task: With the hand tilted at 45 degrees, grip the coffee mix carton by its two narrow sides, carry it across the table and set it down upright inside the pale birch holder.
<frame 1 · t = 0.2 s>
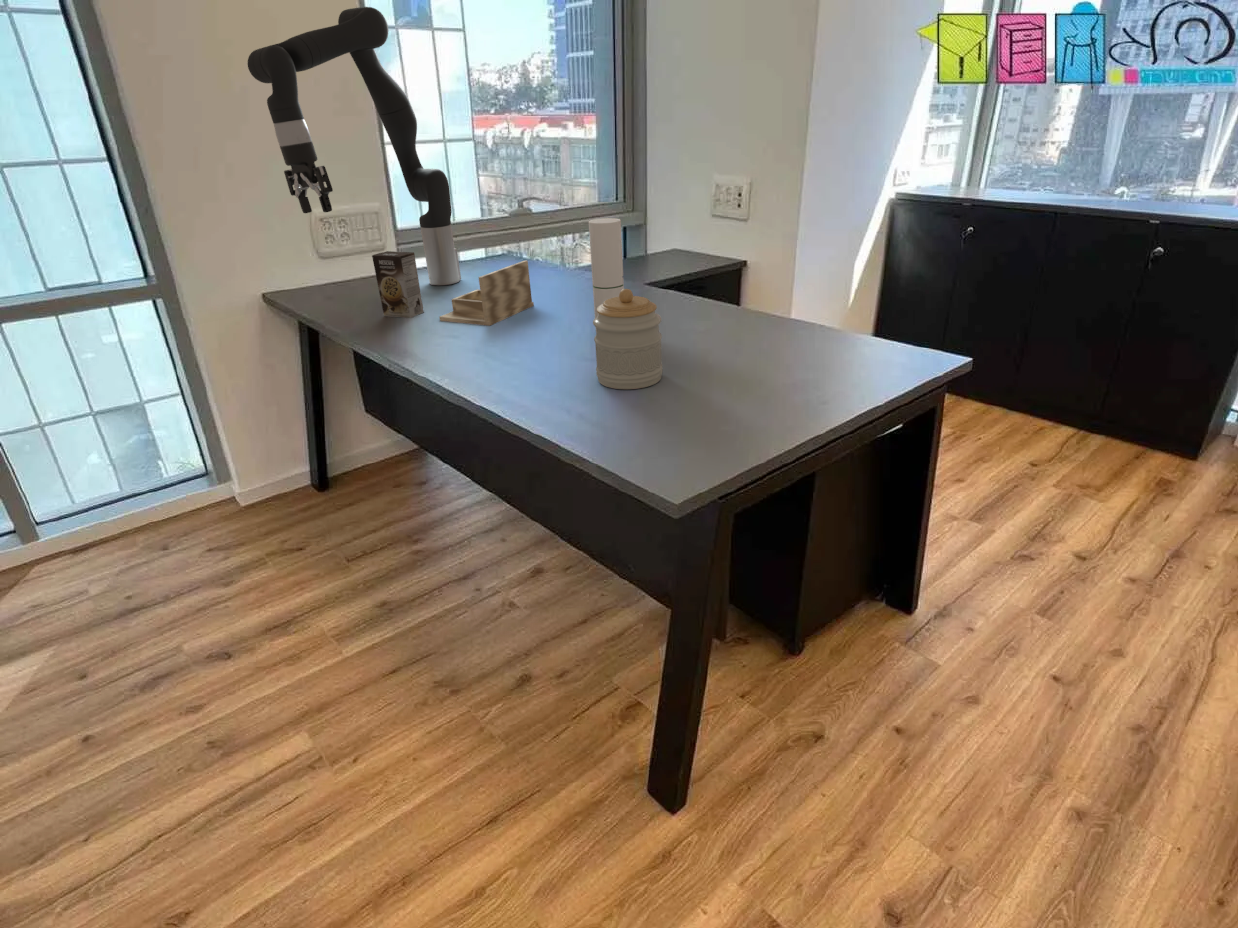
hand: (317, 212, 181), 27 cm above the table, tool pointing down, fingers open, 8 cm apart
holder: (487, 313, 191), on the table
coffee box: (404, 315, 195), on the table
jar: (629, 379, 142), on the table
cylindrical container: (610, 331, 172), on the table
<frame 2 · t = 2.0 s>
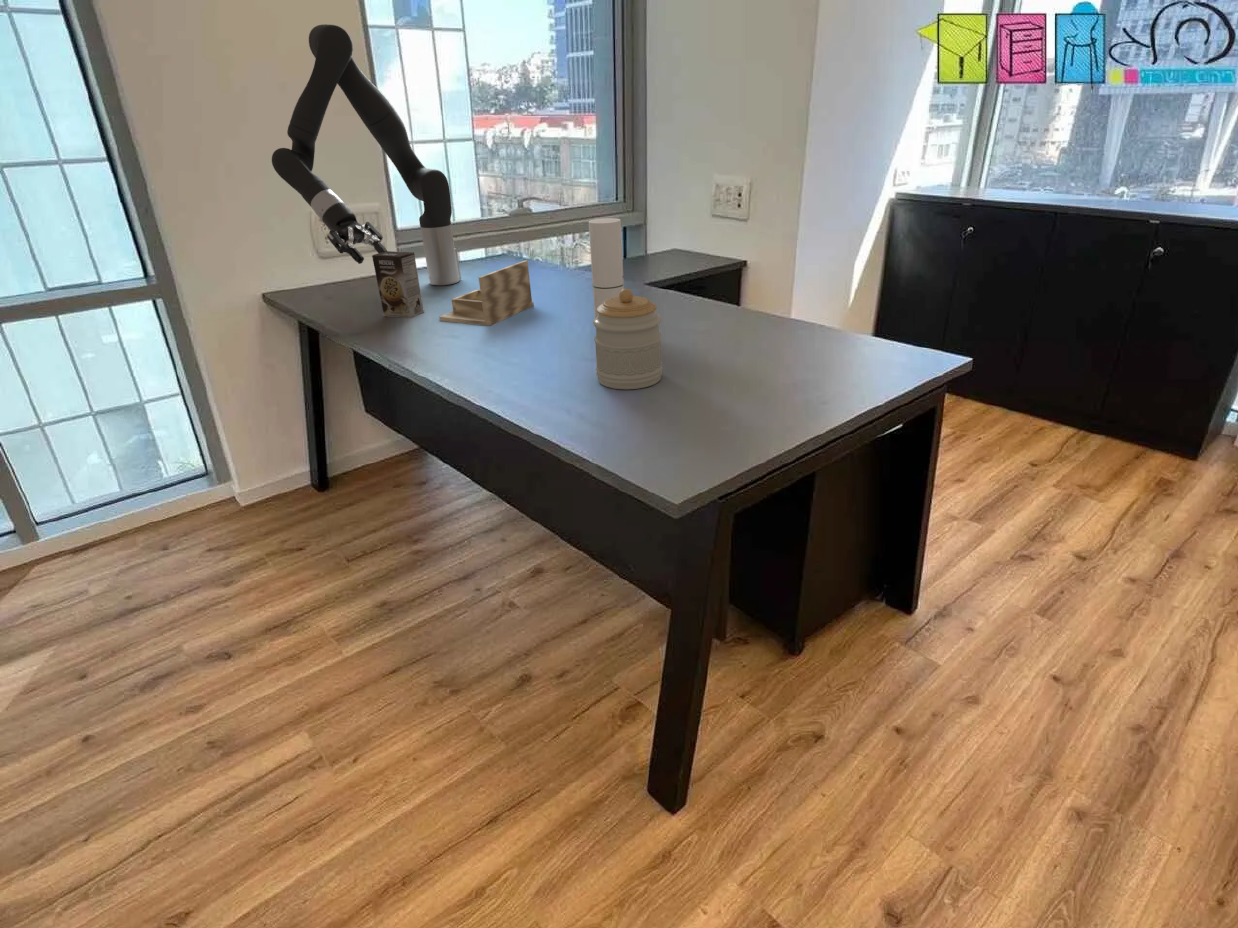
hand: (374, 258, 191), 14 cm above the table, tool tilted 45°, fingers open, 8 cm apart
nothing on the table moved.
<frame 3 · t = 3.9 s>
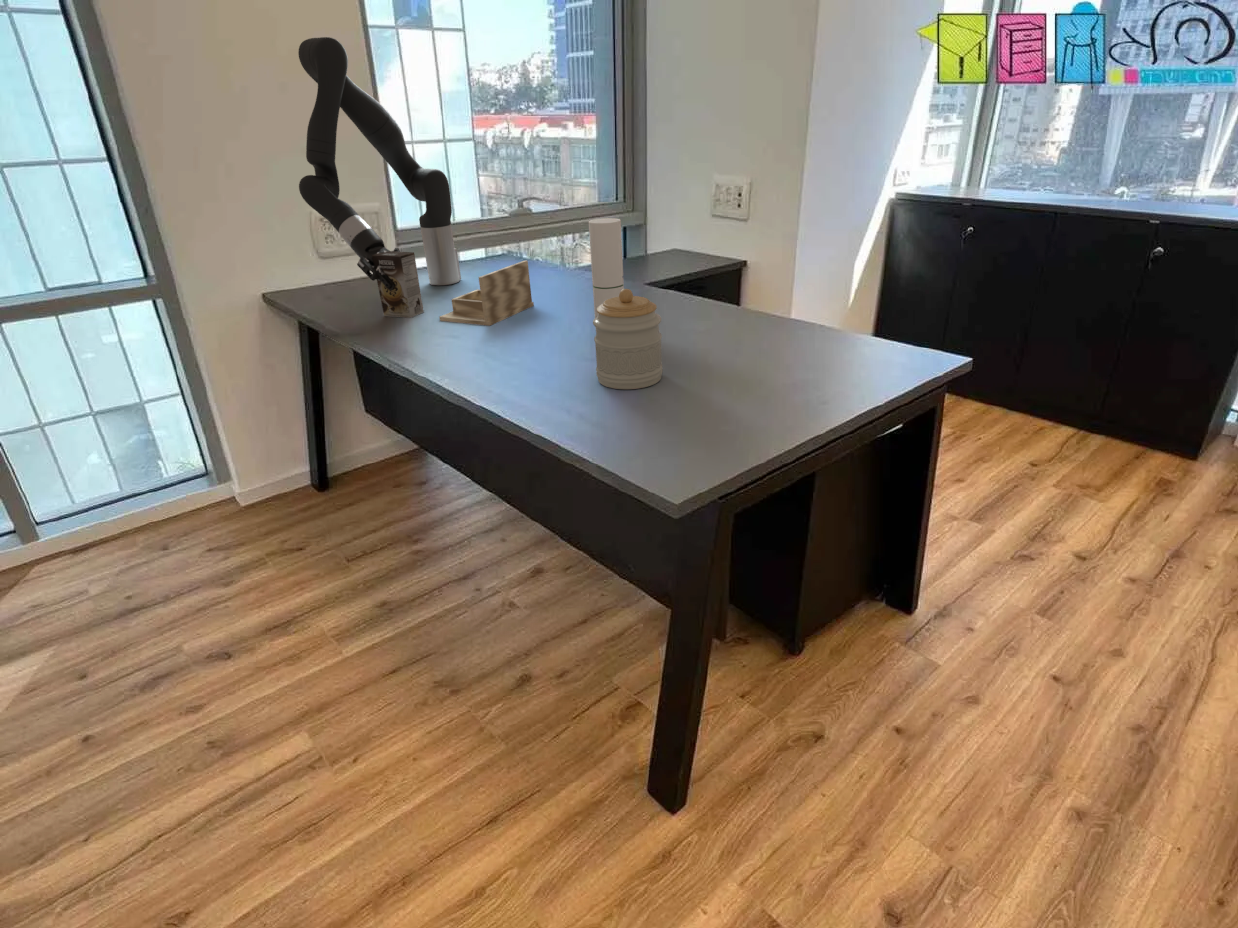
hand: (403, 285, 190), 8 cm above the table, tool tilted 45°, fingers closed on coffee box, 7 cm apart
coffee box: (404, 315, 195), on the table, touching gripper
everything else where it was.
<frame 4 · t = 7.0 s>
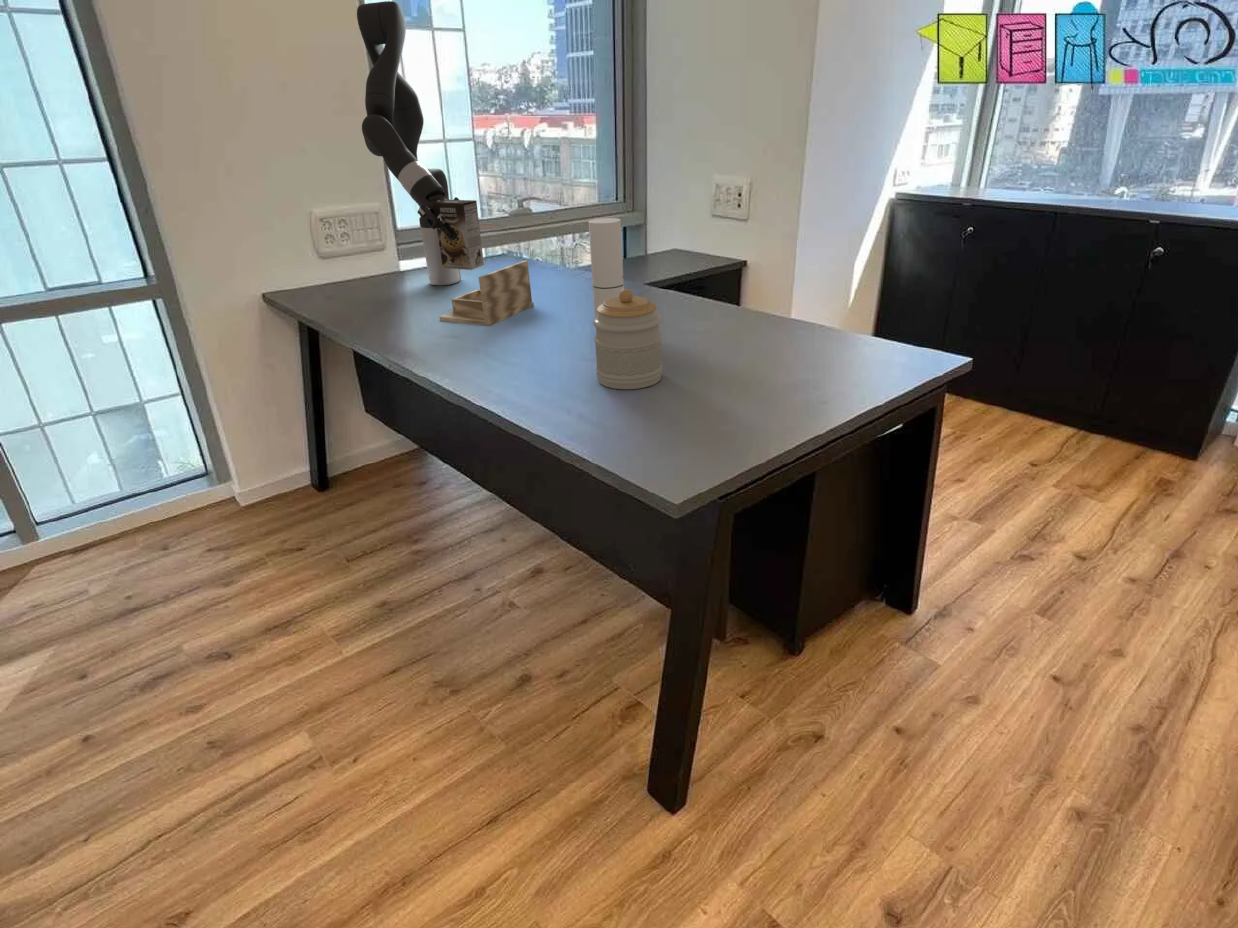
hand: (464, 235, 182), 20 cm above the table, tool tilted 45°, fingers closed on coffee box, 6 cm apart
coffee box: (463, 267, 186), point 12 cm above the table, touching gripper
everything else where it was.
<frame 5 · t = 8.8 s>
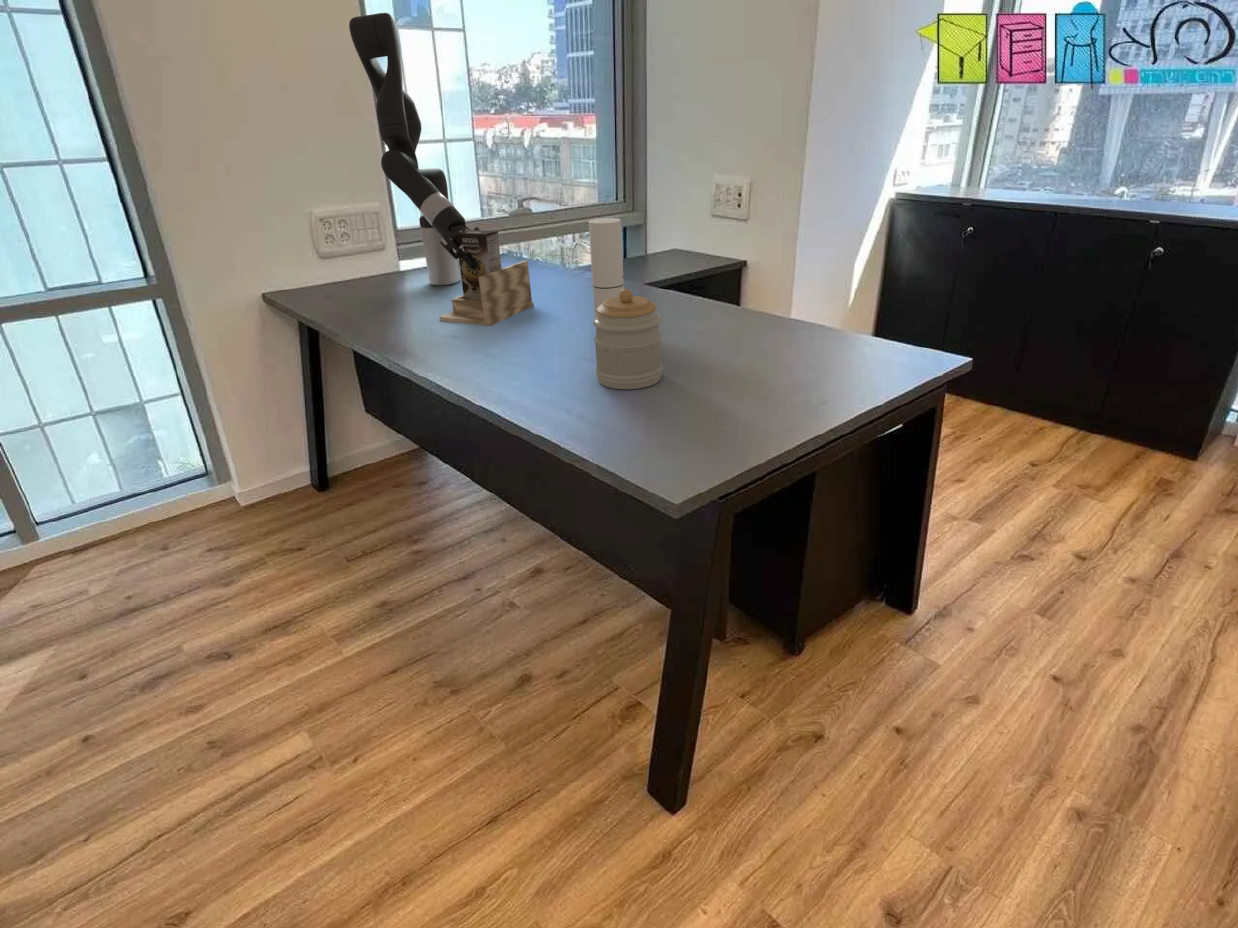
hand: (485, 264, 185), 13 cm above the table, tool tilted 45°, fingers closed on coffee box, 6 cm apart
coffee box: (484, 296, 189), point 5 cm above the table, touching gripper
everything else where it was.
when the fingers open (10 cm above the table, at t = 9.9 s): coffee box drops 1 cm, point 1 cm above the table.
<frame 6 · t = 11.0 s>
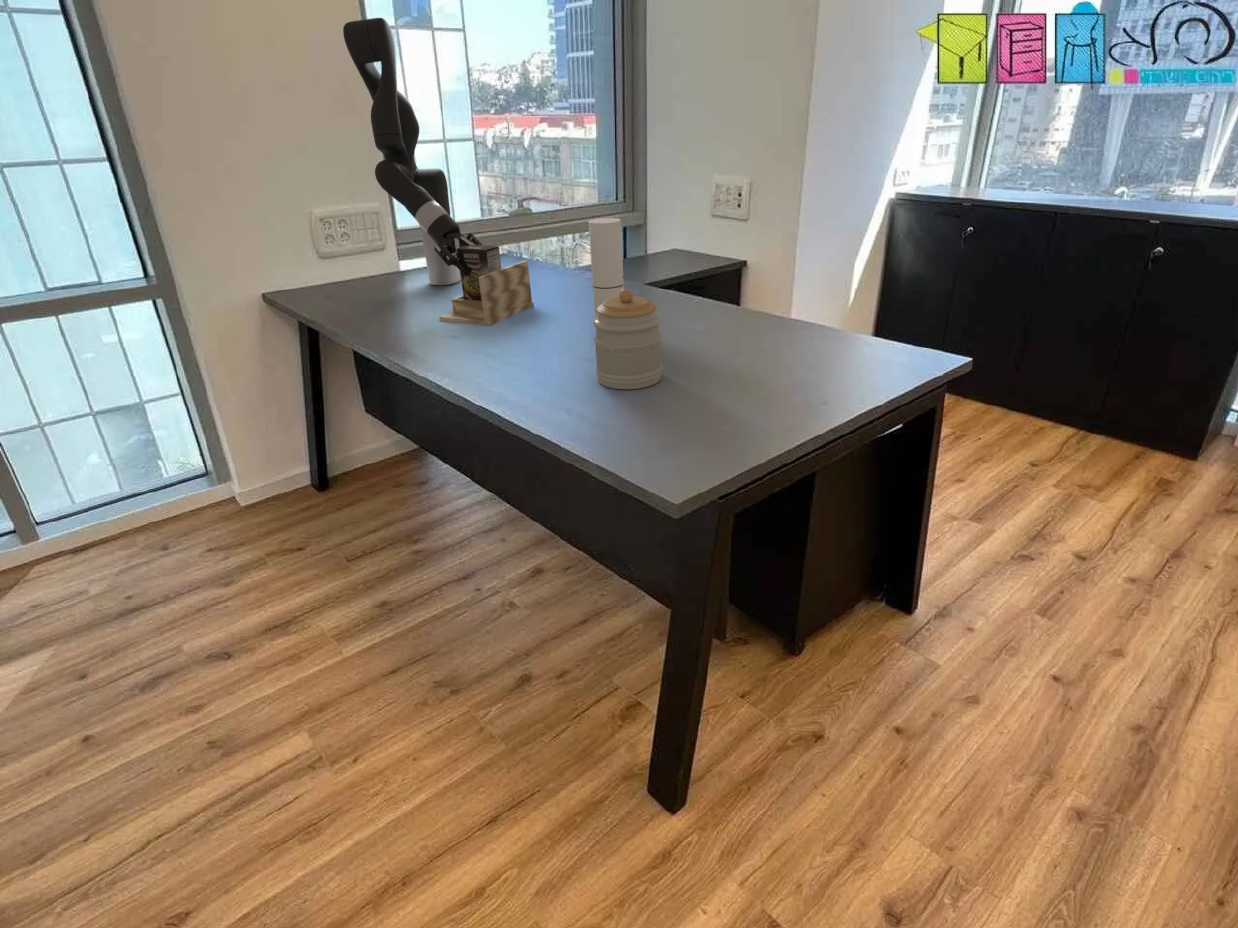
hand: (479, 270, 187), 11 cm above the table, tool tilted 45°, fingers open, 8 cm apart
coffee box: (485, 310, 191), point 1 cm above the table
everything else where it was.
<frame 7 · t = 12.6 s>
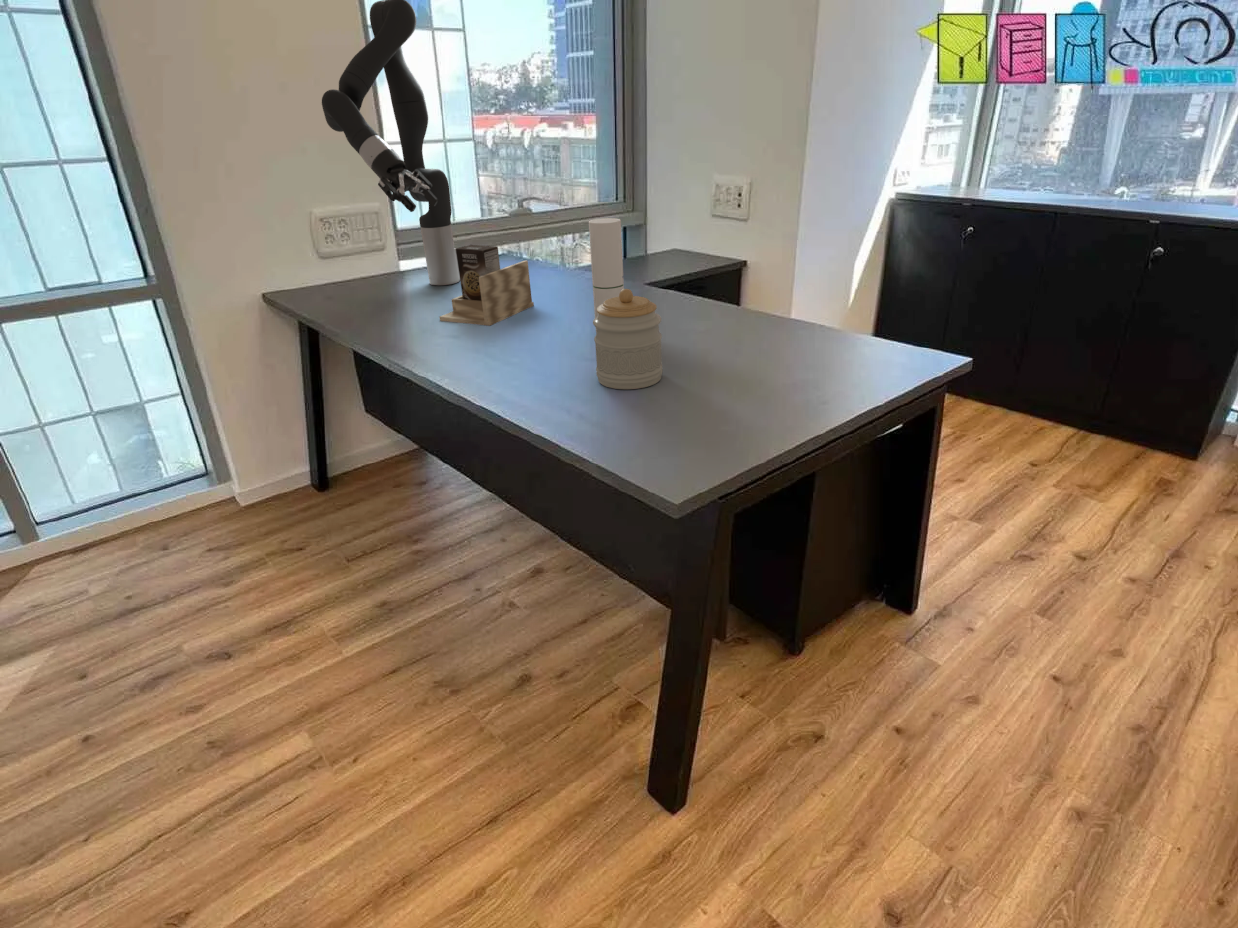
hand: (425, 206, 186), 27 cm above the table, tool tilted 45°, fingers open, 8 cm apart
coffee box: (484, 310, 191), point 1 cm above the table, touching holder
everything else where it was.
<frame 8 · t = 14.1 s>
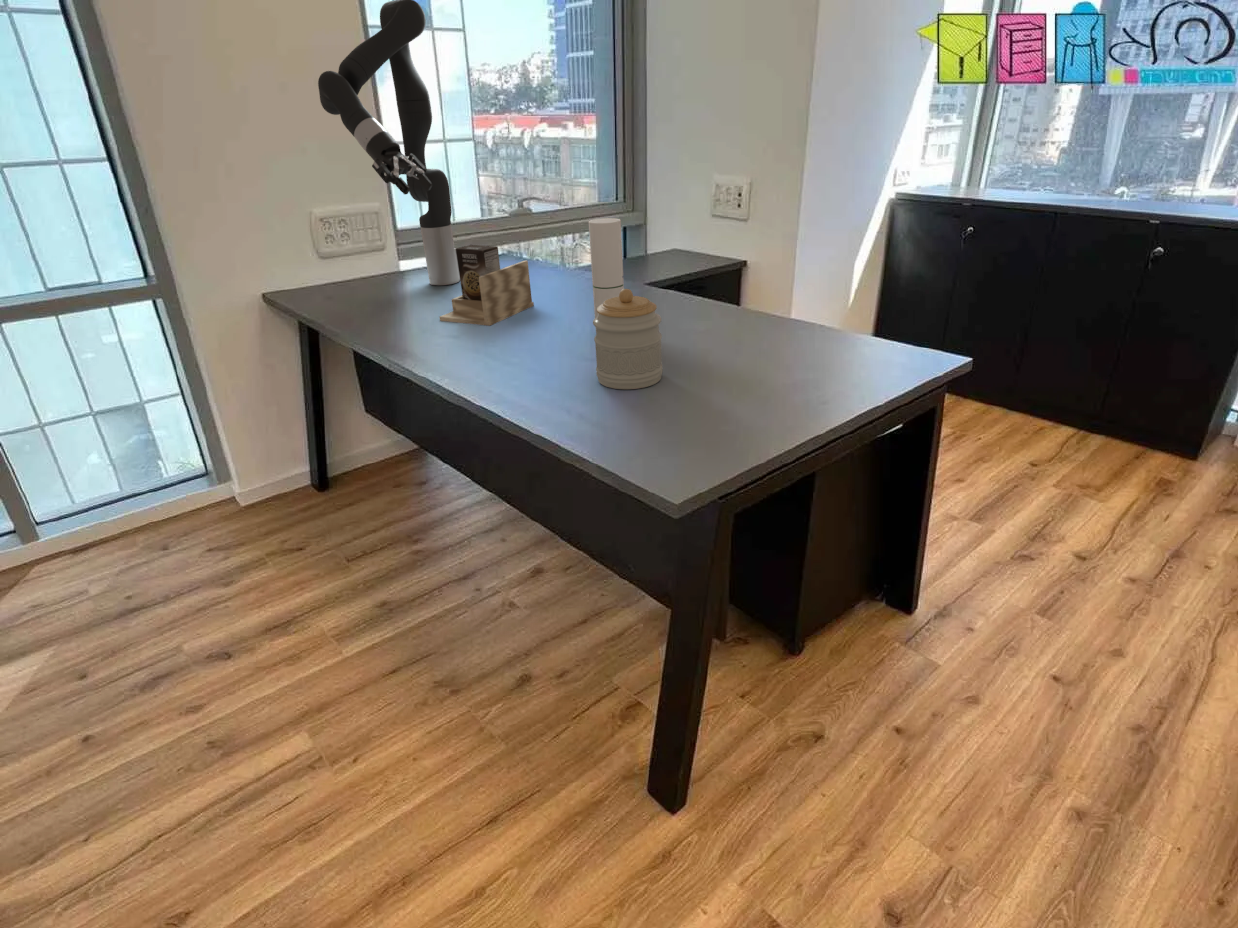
hand: (419, 190, 185), 31 cm above the table, tool tilted 45°, fingers open, 8 cm apart
nothing on the table moved.
at the end: coffee box inside the target area on the holder (0.9 cm from its centre), point 0.8 cm above the holder's base; coffee box tilted 0°; the gripper is holding nothing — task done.
